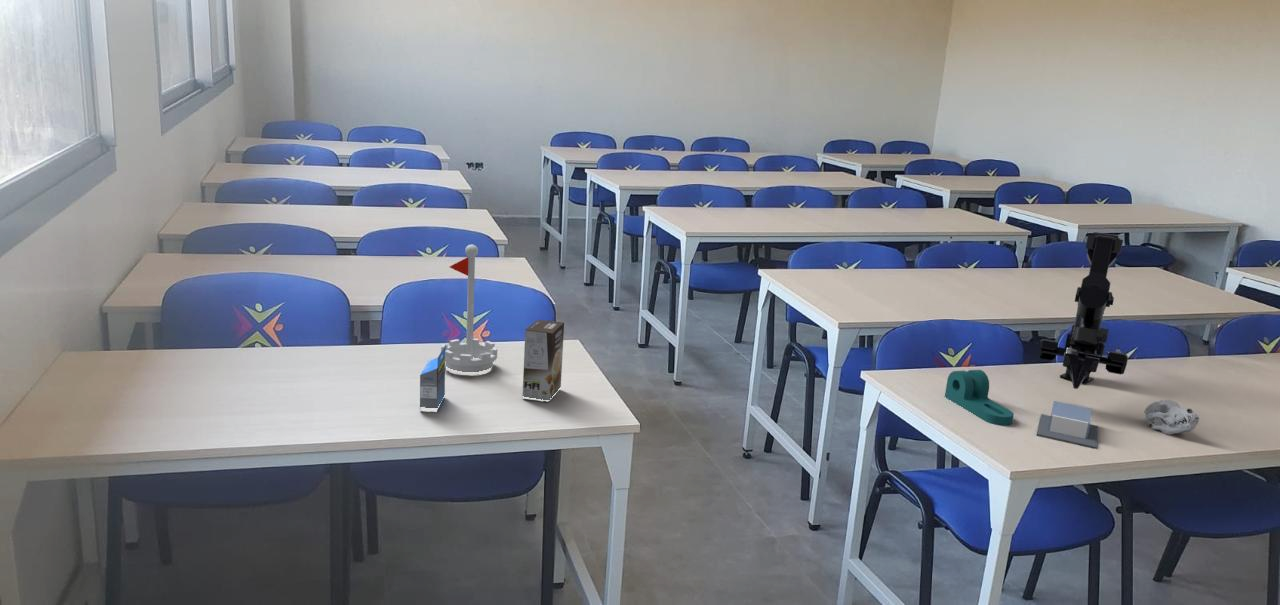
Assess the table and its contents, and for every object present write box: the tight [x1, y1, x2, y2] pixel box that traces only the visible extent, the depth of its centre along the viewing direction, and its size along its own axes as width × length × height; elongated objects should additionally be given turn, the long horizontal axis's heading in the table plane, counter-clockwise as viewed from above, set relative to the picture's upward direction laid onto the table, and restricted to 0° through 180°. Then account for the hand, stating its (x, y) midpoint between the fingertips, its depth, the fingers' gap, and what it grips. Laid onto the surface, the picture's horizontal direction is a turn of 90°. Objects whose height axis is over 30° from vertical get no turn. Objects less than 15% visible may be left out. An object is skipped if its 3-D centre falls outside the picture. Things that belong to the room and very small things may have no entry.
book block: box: [1048, 400, 1092, 439], centre depth 210 cm, size 4×8×11 cm
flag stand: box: [440, 244, 498, 372], centre depth 217 cm, size 13×13×30 cm
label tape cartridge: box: [419, 345, 446, 408], centre depth 196 cm, size 9×4×12 cm, turn 1°
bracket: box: [944, 369, 1015, 427], centre depth 216 cm, size 18×7×8 cm, turn 19°
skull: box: [1143, 399, 1200, 435], centre depth 212 cm, size 8×9×12 cm
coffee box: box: [522, 319, 565, 400], centre depth 206 cm, size 9×6×16 cm
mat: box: [1036, 413, 1099, 450], centre depth 208 cm, size 14×12×1 cm
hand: (1075, 388), depth 215 cm, fingers closed
